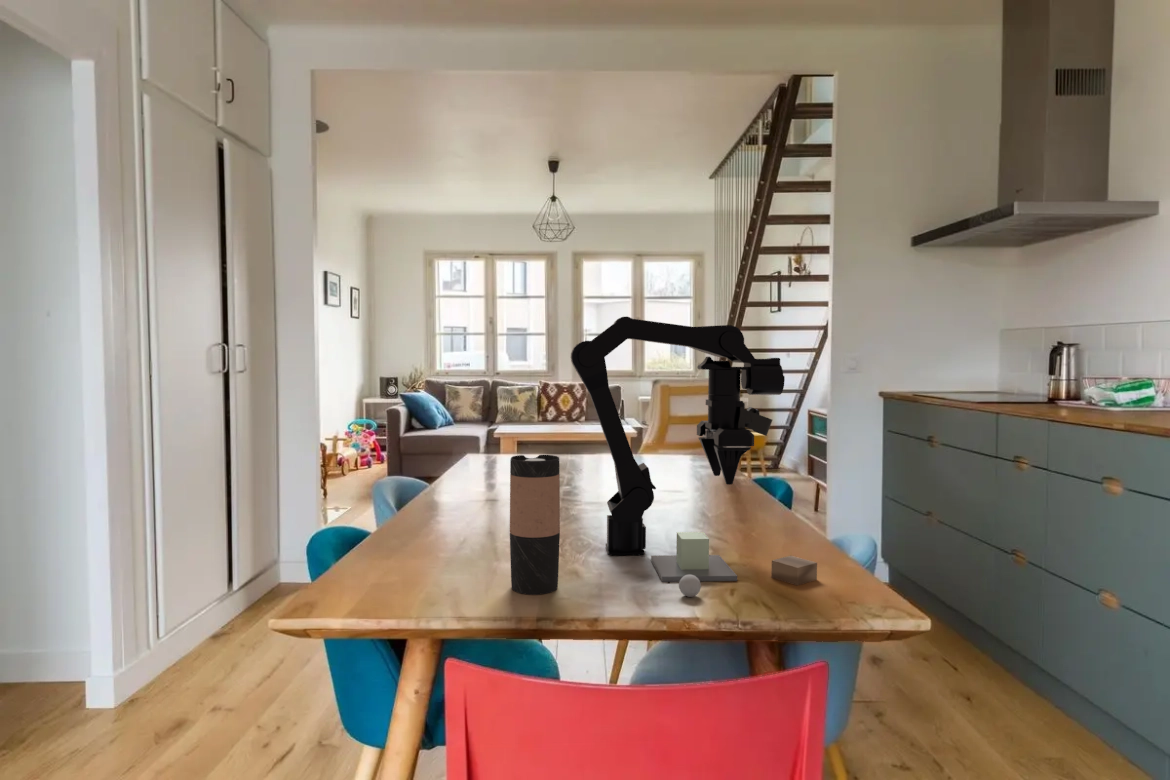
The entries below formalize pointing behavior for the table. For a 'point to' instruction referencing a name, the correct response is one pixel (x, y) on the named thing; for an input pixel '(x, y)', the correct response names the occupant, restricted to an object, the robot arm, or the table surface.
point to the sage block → (692, 550)
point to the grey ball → (689, 585)
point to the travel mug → (534, 523)
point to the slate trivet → (674, 573)
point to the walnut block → (794, 570)
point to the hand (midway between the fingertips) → (722, 479)
